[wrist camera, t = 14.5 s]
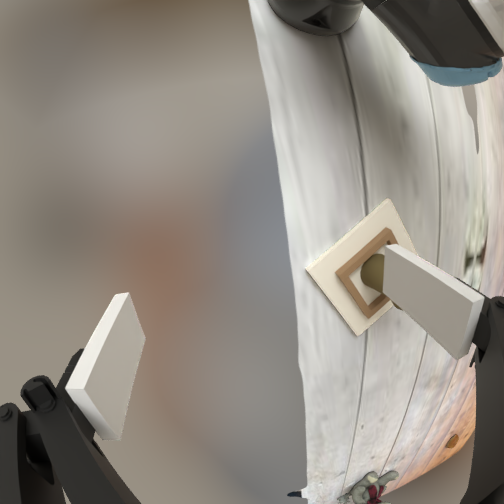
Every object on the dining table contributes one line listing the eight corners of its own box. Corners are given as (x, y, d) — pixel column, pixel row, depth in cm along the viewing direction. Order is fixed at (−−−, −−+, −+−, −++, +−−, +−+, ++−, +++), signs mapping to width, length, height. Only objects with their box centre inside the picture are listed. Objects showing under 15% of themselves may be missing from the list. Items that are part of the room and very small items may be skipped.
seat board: (386, 198, 44) (401, 202, 40) (421, 272, 50) (435, 280, 46) (305, 268, 45) (314, 278, 41) (354, 333, 51) (364, 345, 47)
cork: (391, 251, 45) (432, 275, 35) (386, 284, 47) (423, 312, 37) (362, 254, 44) (401, 280, 34) (358, 288, 46) (393, 320, 36)
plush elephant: (375, 466, 76) (397, 505, 57) (397, 468, 83) (417, 501, 64) (321, 499, 80) (336, 537, 60) (349, 499, 87) (364, 531, 67)
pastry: (447, 439, 86) (451, 444, 83) (458, 430, 86) (462, 435, 83) (445, 446, 89) (448, 451, 86) (455, 438, 90) (459, 443, 86)
